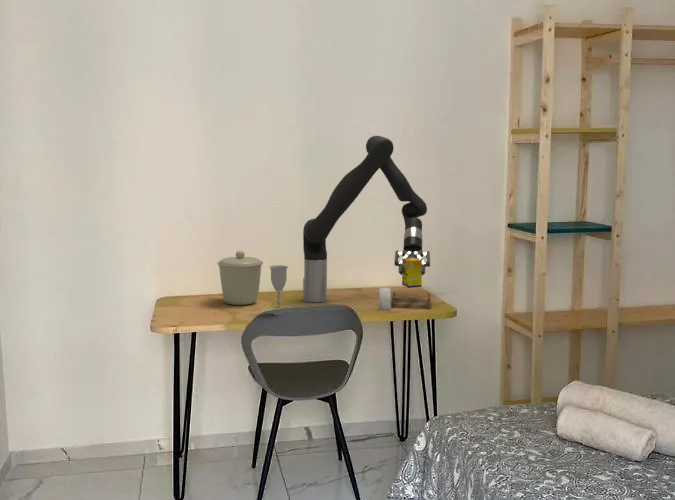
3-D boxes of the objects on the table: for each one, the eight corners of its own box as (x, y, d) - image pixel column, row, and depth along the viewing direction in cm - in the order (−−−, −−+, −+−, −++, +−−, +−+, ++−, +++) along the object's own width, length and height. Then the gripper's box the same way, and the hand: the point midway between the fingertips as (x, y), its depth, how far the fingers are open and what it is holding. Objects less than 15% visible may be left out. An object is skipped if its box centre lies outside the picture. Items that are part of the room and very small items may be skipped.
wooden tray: (391, 307, 298) (391, 297, 298) (392, 301, 309) (393, 292, 308) (430, 308, 296) (430, 298, 296) (430, 302, 307) (430, 293, 307)
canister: (260, 297, 315) (260, 247, 312) (265, 306, 298) (265, 253, 295) (216, 298, 312) (215, 248, 309) (219, 308, 294) (218, 254, 291)
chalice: (290, 315, 284) (290, 267, 281) (273, 316, 281) (272, 268, 279) (284, 311, 290) (284, 264, 288) (267, 312, 288) (267, 265, 285)
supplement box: (401, 285, 303) (401, 258, 302) (415, 284, 305) (415, 257, 304) (408, 288, 298) (408, 260, 296) (421, 286, 300) (422, 259, 298)
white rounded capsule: (378, 309, 294) (379, 289, 293) (379, 307, 298) (379, 287, 297) (390, 310, 294) (390, 289, 292) (390, 307, 298) (391, 287, 297)
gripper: (395, 235, 307) (393, 268, 297) (430, 235, 305) (430, 268, 296) (395, 246, 313) (394, 278, 303) (430, 246, 311) (429, 279, 302)
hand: (411, 273), depth 299 cm, fingers closed on supplement box, 8 cm apart
